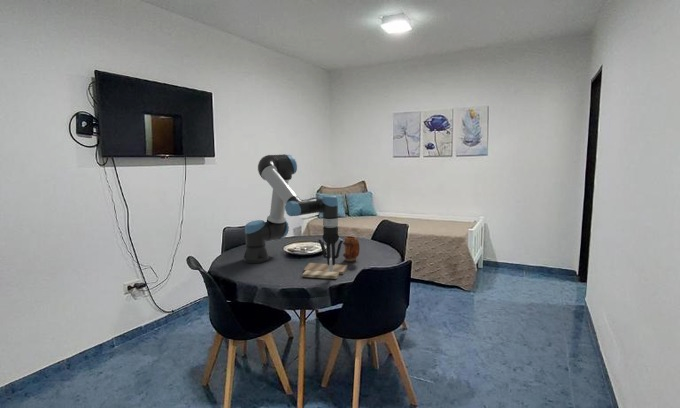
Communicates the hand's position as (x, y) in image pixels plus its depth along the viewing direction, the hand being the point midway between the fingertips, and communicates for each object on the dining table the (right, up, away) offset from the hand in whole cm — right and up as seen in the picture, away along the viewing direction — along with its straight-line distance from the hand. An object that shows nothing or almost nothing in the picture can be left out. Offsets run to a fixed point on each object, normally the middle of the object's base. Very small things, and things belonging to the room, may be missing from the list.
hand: (331, 270), depth 192 cm
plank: (-5, -3, +4) cm, 8 cm away
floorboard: (-3, -2, +14) cm, 15 cm away
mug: (+12, 0, +28) cm, 30 cm away
